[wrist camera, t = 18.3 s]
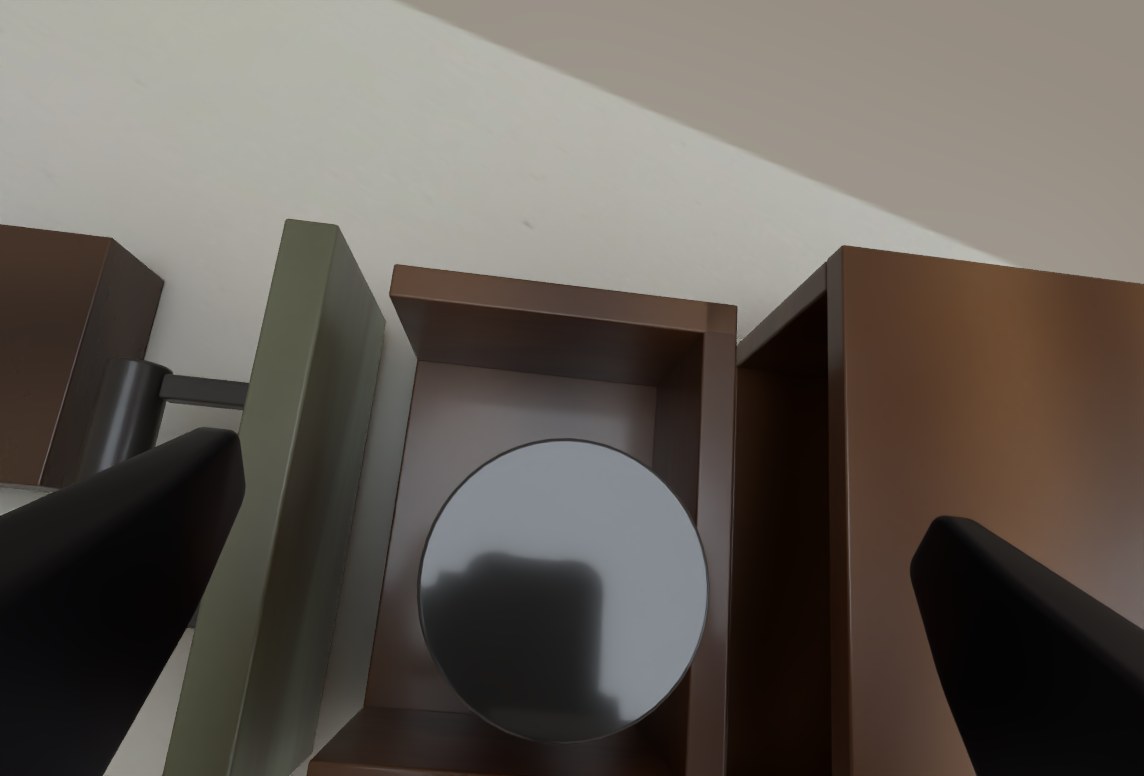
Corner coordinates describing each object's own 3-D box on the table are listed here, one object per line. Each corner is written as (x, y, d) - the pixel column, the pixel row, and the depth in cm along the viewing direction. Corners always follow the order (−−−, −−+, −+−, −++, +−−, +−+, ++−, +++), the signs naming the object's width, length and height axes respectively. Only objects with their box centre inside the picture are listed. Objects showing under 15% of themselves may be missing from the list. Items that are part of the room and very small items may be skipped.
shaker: (567, 696, 18) (618, 809, 10) (422, 603, 18) (354, 637, 10) (651, 545, 19) (759, 532, 11) (514, 459, 19) (521, 385, 11)
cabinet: (714, 796, 20) (853, 953, 12) (728, 352, 23) (842, 243, 15) (1090, 823, 20) (1455, 986, 12) (1048, 389, 24) (1312, 304, 16)
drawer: (103, 739, 18) (-109, 832, 12) (210, 300, 21) (89, 192, 15) (654, 778, 19) (725, 883, 13) (676, 354, 22) (741, 274, 16)
